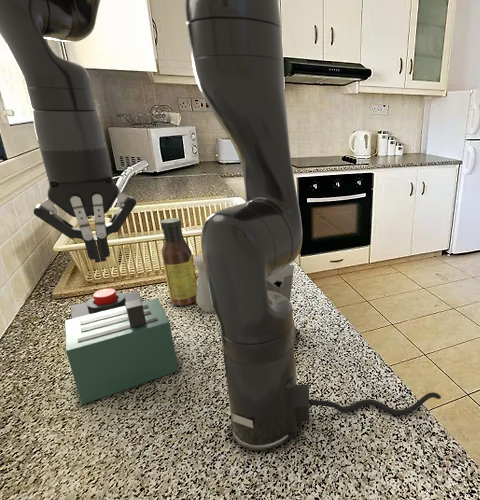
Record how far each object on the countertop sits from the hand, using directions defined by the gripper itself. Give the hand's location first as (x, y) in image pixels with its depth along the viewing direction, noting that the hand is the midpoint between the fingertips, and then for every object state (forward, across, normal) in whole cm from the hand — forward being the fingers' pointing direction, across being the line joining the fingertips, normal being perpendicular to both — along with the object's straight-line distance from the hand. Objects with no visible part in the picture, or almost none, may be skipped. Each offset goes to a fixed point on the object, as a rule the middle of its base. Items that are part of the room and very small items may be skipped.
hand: (100, 260), depth 58 cm
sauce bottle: (+21, +15, +20) cm, 33 cm away
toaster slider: (+10, +3, -3) cm, 11 cm away
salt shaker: (+21, +19, +13) cm, 31 cm away
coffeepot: (+21, +26, -5) cm, 33 cm away
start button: (+18, 0, +22) cm, 28 cm away
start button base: (+21, 0, +22) cm, 30 cm away
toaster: (+21, 0, 0) cm, 21 cm away
